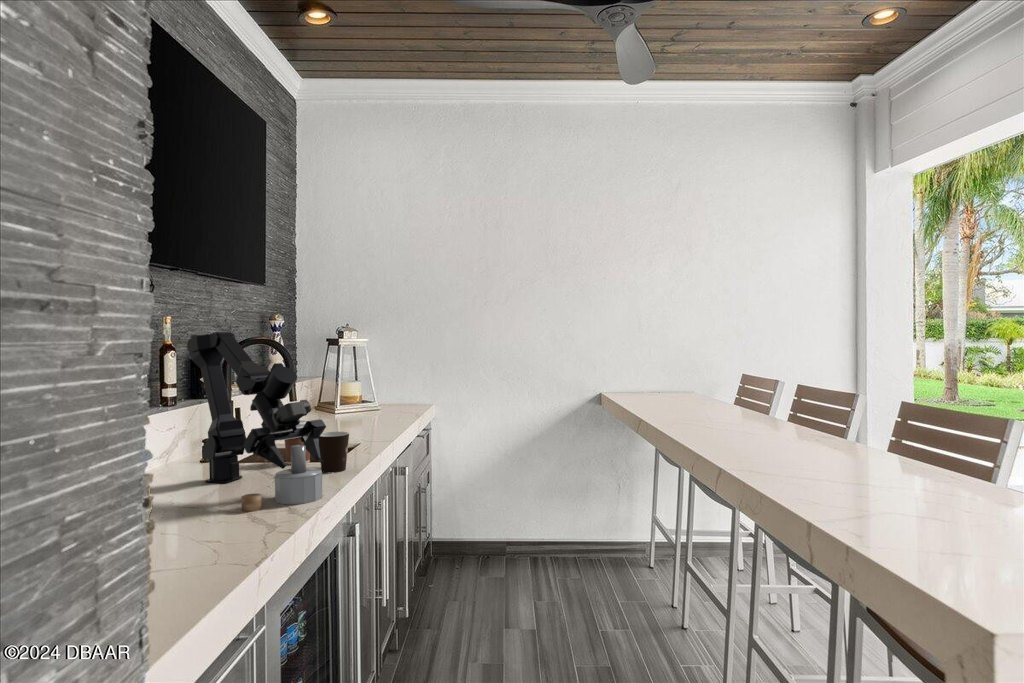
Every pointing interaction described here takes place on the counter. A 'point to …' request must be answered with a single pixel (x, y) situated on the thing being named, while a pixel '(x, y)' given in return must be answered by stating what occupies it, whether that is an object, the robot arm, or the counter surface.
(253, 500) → the walnut puck
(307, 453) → the coffee cup
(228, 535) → the counter surface
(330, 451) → the coffee mug
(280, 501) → the slate cloche
